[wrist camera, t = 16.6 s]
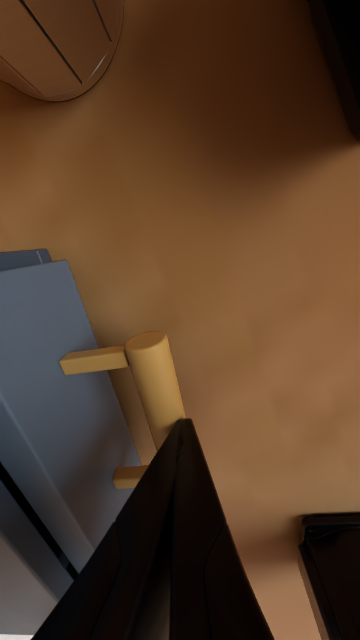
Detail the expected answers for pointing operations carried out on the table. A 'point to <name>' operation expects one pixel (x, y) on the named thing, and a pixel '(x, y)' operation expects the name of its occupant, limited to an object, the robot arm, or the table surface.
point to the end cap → (341, 51)
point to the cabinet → (26, 538)
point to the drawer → (72, 410)
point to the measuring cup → (57, 44)
